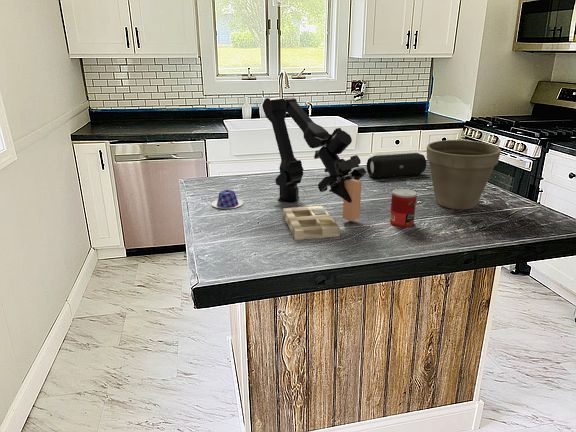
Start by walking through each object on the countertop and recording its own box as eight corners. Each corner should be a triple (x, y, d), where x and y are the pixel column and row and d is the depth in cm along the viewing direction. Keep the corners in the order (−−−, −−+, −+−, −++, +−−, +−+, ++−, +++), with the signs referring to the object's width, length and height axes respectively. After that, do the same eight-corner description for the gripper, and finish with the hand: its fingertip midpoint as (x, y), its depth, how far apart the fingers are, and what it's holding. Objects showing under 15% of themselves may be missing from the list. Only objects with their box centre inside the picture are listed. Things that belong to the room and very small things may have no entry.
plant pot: (453, 219, 153) (461, 157, 145) (407, 198, 174) (413, 143, 166) (506, 208, 162) (517, 150, 154) (457, 190, 183) (464, 137, 175)
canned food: (409, 229, 145) (412, 197, 141) (386, 224, 149) (388, 193, 145) (416, 221, 151) (420, 190, 147) (394, 217, 155) (396, 187, 151)
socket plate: (283, 216, 156) (283, 207, 155) (321, 213, 158) (322, 204, 157) (295, 240, 137) (295, 230, 136) (339, 236, 140) (339, 226, 138)
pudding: (220, 198, 176) (219, 185, 174) (248, 201, 172) (248, 188, 170) (206, 208, 165) (205, 195, 163) (235, 211, 162) (234, 198, 160)
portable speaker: (374, 180, 197) (375, 158, 193) (365, 174, 206) (366, 153, 202) (426, 176, 202) (428, 155, 199) (415, 171, 211) (417, 150, 208)
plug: (342, 218, 151) (344, 181, 146) (350, 215, 153) (352, 178, 148) (351, 221, 148) (353, 183, 143) (359, 218, 150) (361, 181, 146)
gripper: (325, 152, 139) (350, 194, 135) (363, 144, 150) (387, 182, 147) (307, 171, 147) (330, 211, 144) (345, 162, 159) (367, 199, 155)
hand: (355, 200), depth 147 cm, fingers closed on plug, 4 cm apart
